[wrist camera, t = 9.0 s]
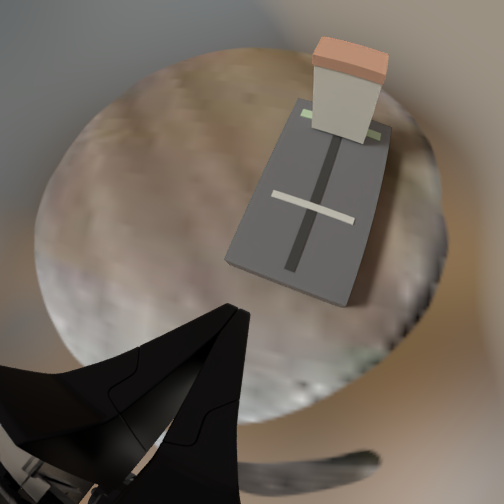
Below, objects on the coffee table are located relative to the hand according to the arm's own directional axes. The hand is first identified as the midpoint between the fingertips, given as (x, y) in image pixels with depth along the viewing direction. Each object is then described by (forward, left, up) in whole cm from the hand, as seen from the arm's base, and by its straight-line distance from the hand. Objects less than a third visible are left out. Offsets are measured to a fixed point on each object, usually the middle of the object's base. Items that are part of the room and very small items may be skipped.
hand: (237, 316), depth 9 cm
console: (+11, -5, -13) cm, 18 cm away
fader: (+17, -7, -11) cm, 22 cm away
